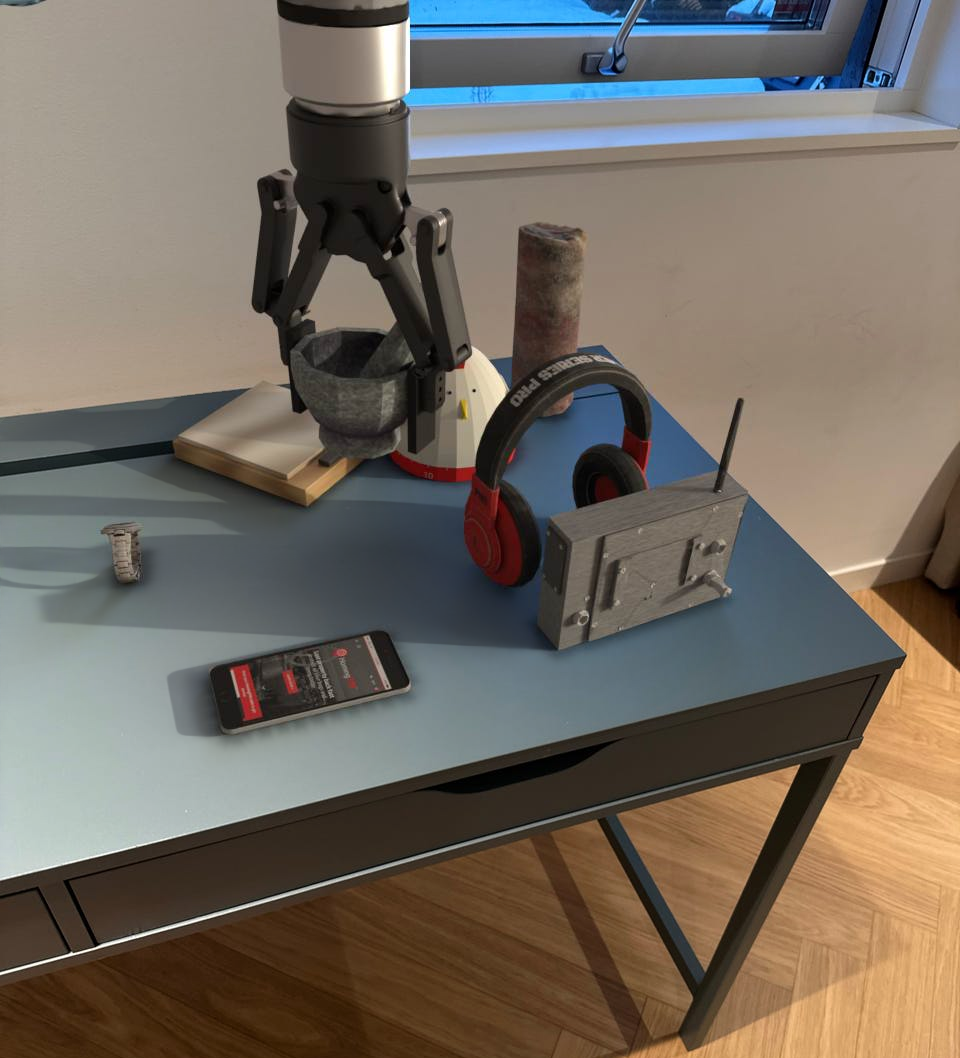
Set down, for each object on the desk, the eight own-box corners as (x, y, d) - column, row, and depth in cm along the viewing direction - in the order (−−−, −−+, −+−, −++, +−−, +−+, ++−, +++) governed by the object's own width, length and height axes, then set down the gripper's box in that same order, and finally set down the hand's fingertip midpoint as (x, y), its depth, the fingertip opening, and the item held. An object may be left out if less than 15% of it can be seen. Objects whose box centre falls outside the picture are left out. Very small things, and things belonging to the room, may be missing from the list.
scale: (175, 457, 99) (170, 436, 97) (265, 398, 108) (262, 377, 107) (307, 507, 93) (304, 485, 91) (388, 439, 103) (388, 418, 101)
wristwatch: (151, 549, 87) (140, 504, 84) (148, 591, 83) (136, 546, 79) (112, 552, 87) (99, 508, 83) (107, 595, 82) (93, 550, 79)
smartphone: (206, 667, 75) (386, 627, 79) (208, 673, 76) (387, 633, 80) (222, 732, 70) (413, 686, 74) (223, 738, 71) (413, 692, 75)
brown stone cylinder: (495, 399, 110) (504, 224, 97) (539, 380, 114) (553, 209, 100) (541, 425, 106) (558, 246, 93) (585, 404, 110) (607, 230, 96)
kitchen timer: (399, 487, 96) (396, 350, 86) (378, 419, 106) (373, 289, 96) (529, 474, 99) (541, 339, 89) (497, 409, 109) (504, 281, 98)
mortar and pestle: (292, 469, 68) (282, 305, 60) (297, 409, 75) (289, 255, 67) (446, 471, 69) (456, 312, 62) (436, 412, 76) (445, 262, 69)
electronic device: (693, 572, 88) (742, 376, 74) (738, 615, 84) (800, 416, 70) (532, 624, 82) (553, 420, 68) (572, 673, 77) (603, 467, 64)
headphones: (503, 618, 82) (518, 414, 68) (446, 556, 88) (449, 358, 74) (658, 558, 89) (699, 363, 75) (595, 505, 95) (623, 315, 82)
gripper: (541, 118, 55) (515, 446, 71) (241, 57, 63) (276, 366, 78) (480, 149, 50) (465, 494, 66) (162, 79, 58) (215, 404, 73)
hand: (363, 424), depth 72 cm, fingers closed on mortar and pestle, 10 cm apart
